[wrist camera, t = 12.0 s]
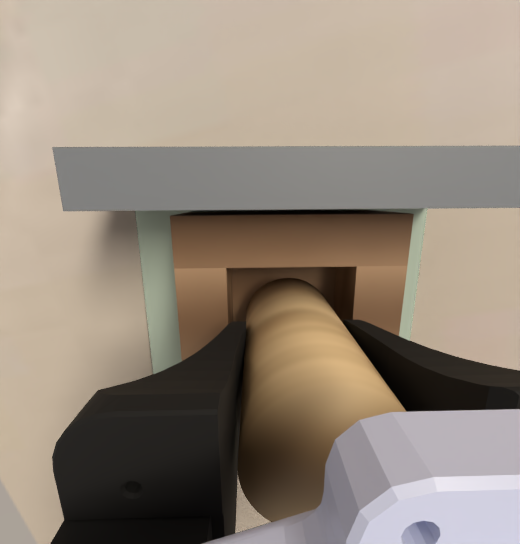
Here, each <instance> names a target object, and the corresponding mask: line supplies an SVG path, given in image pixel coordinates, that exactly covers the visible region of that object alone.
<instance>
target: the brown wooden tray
mask: <svg viewBox="0 0 520 544" xmlns="http://www.w3.org/2000/svg"><path fill="white" fill-rule="evenodd" d="M413 217H414V214H410V213H399V212H388V211H376V210H349V211H221V212H187V213H182V214H176V215H171V216H170V225H171V237H172V249H173V262H174V274H175V286H176V298H177V310H178V322H179V334H180V347H181V359H182V361H183V360H185V359H187V358H188V357H190V356H192V355H193V354H195V353H196V352H198V351H199V350H200V349H202V348H203V347H204V346H205V345H207V344H208V343H209V342H210V341H212V340H213V339H214V338H215V337H216V336H217V335H218V334H219V333H220V332H221V331H222V330H223V329H224V328H225V327H226V326H227V325H228V324H229V323H230V322H231V321H246V313H247V308H248V305H249V303H250V301H251V299H252V297H253V296H254V294H255V293H256V292H257V291H258V290H259V289H260V288H261V287H262V286H264V285H266V284H267V283H269V282H271V281H274V280H277V279H282V278H296V279H300V280H303V281H306V282H308V283H310V284H311V285H313V286H314V287H315V288H317V289H318V290H319V291H320V293H321V294H322V295H323V297H324V298H325V299H326V301H327V302H328V303H329V305H330V306H331V308H332V309H333V310H334V312H335V313H336V315H337V316H338V317H339V319H340V320H341V321H342V323H343V320H357V319H358V320H362V321H365V322H368V323H370V324H373V325H375V326H377V327H380V328H382V329H384V330H386V331H388V332H391V333H393V334H395V335H397V336H399V331H400V323H401V315H402V307H403V299H404V290H405V282H406V274H407V266H408V258H409V249H410V241H411V233H412V225H413Z"/></svg>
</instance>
